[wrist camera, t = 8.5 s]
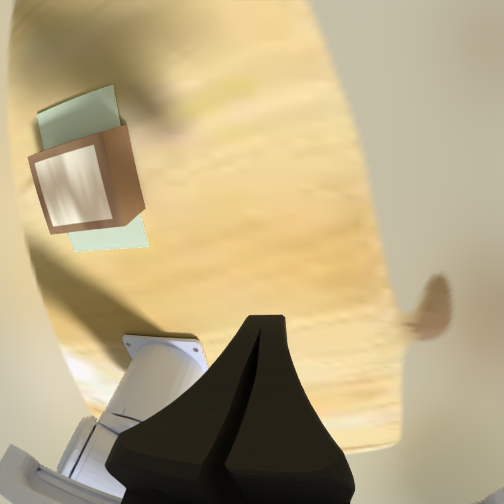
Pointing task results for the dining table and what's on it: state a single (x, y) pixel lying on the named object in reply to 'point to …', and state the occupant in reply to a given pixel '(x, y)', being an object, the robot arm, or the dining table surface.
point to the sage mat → (80, 125)
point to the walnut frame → (88, 182)
